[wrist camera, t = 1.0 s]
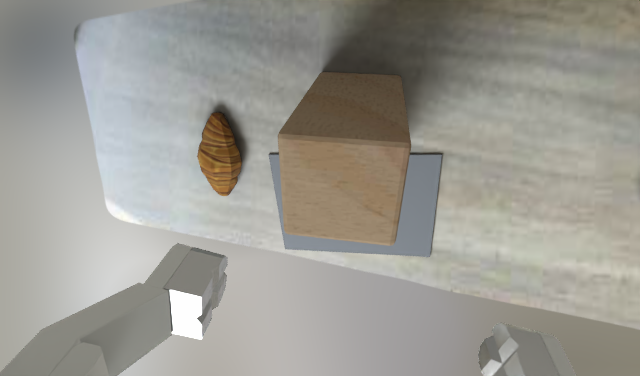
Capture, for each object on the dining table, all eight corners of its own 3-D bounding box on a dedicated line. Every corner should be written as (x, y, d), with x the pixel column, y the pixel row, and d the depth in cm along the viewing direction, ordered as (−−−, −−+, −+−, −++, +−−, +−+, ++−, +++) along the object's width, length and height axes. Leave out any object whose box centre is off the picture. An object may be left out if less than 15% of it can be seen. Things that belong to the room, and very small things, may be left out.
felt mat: (441, 154, 45) (441, 155, 45) (429, 255, 54) (429, 256, 54) (269, 153, 49) (268, 154, 49) (285, 247, 59) (285, 249, 58)
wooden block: (320, 70, 42) (275, 132, 25) (402, 74, 41) (412, 142, 24) (319, 144, 47) (282, 236, 30) (392, 150, 46) (395, 248, 29)
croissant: (249, 193, 54) (237, 211, 50) (208, 187, 55) (194, 204, 51) (244, 112, 47) (230, 125, 43) (198, 106, 48) (180, 119, 43)
